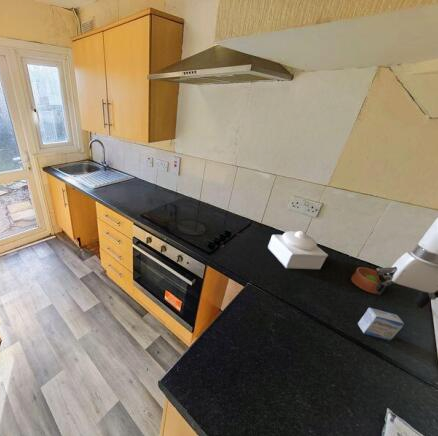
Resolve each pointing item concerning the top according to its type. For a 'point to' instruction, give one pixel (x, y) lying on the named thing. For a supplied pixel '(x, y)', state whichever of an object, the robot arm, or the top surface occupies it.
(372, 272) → the bowl
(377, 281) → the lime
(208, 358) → the top surface
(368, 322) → the medicine box
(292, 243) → the butter dish
